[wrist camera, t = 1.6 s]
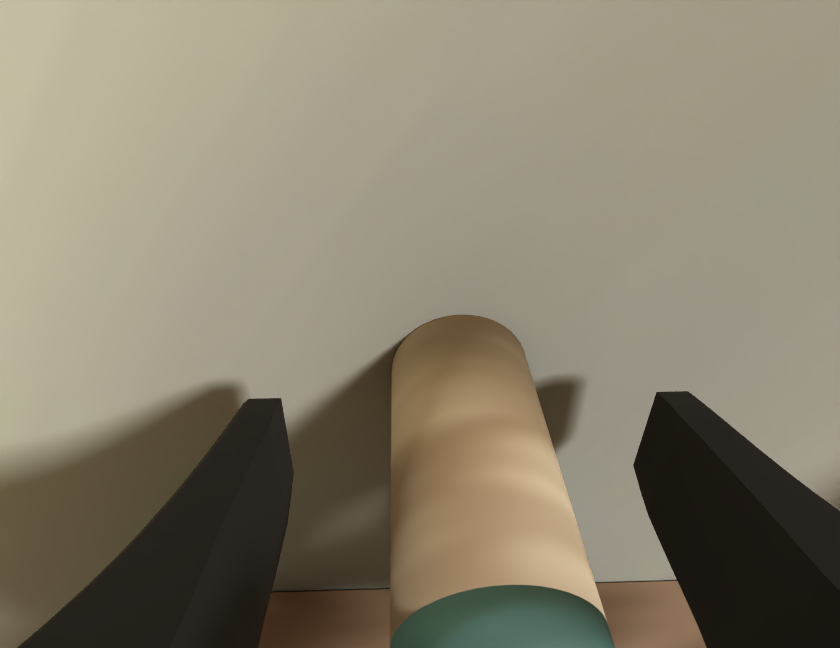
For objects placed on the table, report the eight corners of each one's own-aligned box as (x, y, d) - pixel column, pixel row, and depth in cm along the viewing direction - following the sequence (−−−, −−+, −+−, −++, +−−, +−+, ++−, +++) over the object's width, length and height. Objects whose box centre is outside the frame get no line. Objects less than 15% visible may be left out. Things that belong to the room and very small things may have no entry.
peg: (534, 313, 12) (661, 666, 6) (518, 418, 14) (608, 773, 8) (390, 315, 12) (386, 676, 6) (393, 421, 14) (391, 781, 8)
